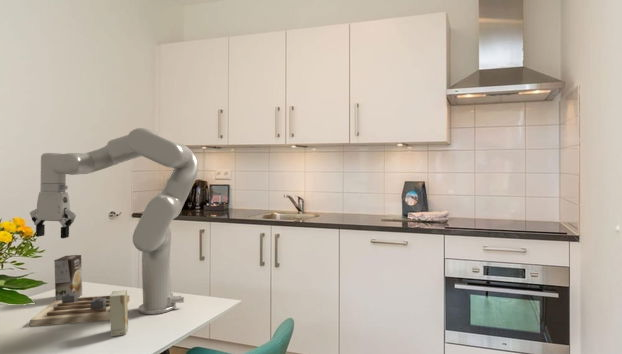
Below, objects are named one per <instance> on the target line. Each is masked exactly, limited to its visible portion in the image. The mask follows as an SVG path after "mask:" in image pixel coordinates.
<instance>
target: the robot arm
mask: <svg viewBox="0 0 622 354" xmlns="http://www.w3.org/2000/svg"><path fill="white" fill-rule="evenodd" d="M140 157H144V158H146V159H147V160H151V161H153V162H155V163H157V164H159V165H162V166H163V167H167V168H169V169H170V168H171V169H172V168H173V170H172V172H171V174H170V176H169V178H168V179H167V181H166V184H165V186H164V188H163V189H162V191H161V194H159V195H156V196H154V197H153V198H151V199H150V201H149V202H147V205H146V206H145V209H144V211H143V213H142V215H141V217H140V218H139V220H138V223H137V224H136V227H135V229H134V230H133V234H132V244H133V245H134V247H135V248H136V249H137V250H138V251H140V252H142V253H141V277H142V278H141V279H142V304H140V305H139V306H138V307H137V308H138V312H139V313H141V314H144V315H158V314H163V313H167V312H170V311H172V310H174V309H175V308H176V306H177V304H178V303H179V304H180V303H185V297H184V296H182V295H177V296H175V295H174V293H173V292H172V283H171V282H172V280H171V279H172V278H171V246H172V245H171V244H172V232H171V227H170V224H172V223H171V222H172V221H173V220H174V219H177V218H178V217H179V215H180V214H181V212H182V209H183V207H184V205H185V202H186V201H187V199H188V197H189V194H190V192H191V190H192V188H193V186H194V184H195V181H196V179H197V176H198V170H199V166H198V160H197V157H196V156H195V154H194V152H193V151H192V150H191V148H189V147H188V146H187V145H184V144H183V143H182V144H181V143H176V142H173V141H172V140H171V141H170V140H169V139H166V138H163V137H161V136H159V135H158V133H156V132H155V131H154V130H152V129H148V128H144V127H143V128H142V127H138V128H137V127H136V128H135V129H132V130H130V132H128V134H126V135H123V136H120V137H116V138H114V139H111V140H109V141H107V143H106V145H105V146H103V147H101V148H98V149H94V150H92V151H88V152H85V153H82V152H81V153H80V152H70V153H69V152H68V153H59V152H45V153H44V152H43V154H41V156H40V188H39V189H40V192H39V193H38V196H37V200H36V203H37V204H36V208H35V209H32V211H30V212H29V215H30V217H31V220H32V222H33V225H34V226H35V237H38V238H39V237H43V236H45V230H46V229H45V226H46V225H45V224H44V223H45V222H47V221H48V222H59V224H60V225H61V227H60V239H67V238H69V237H70V227H71V226H72V224H73V223H74V220H75V219H76V216H77V214H76V213H74V212H72V211H71V203H70V198H69V194H68V192H67V191H66V190H68V187H69V186H68V185H66V180H67V179H66V175H71V176H75V175H76V176H77V175H86V174H93V173H95V172H98V171H101V170H105V169H107V168H110V167H112V166H116V165H119V164H120V163H124V162H127V161H130V160H134V159H137V158H140ZM36 233H37V234H36Z"/></svg>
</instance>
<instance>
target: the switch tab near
mask: <svg viewBox="0 0 622 354" xmlns="http://www.w3.org/2000/svg"><path fill="white" fill-rule="evenodd" d="M90 305H91V309H96V308H105V307H106V298H101V297H98V298H97V299H93V300H92V301H91V302H90Z"/></svg>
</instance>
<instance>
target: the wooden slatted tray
mask: <svg viewBox="0 0 622 354" xmlns="http://www.w3.org/2000/svg"><path fill="white" fill-rule="evenodd" d="M98 297H101V298H106V307H105V308H96V309H91V305H90V302H91V301H92V300H93V299H97V298H98ZM129 302H130V295H127V304H129ZM99 321H101V322H102V321H110V295H99V296H98V295H97V296H83V297H78V301H77V302H72V303H62V300H58V301H56V300H54V301H52V302H51V303H49V304H48V305H47V306H46V307H45V308H44V309H41V310H40V311H39V312H38V313H37V314H35V316H33V317H32V318H30V319H29V326H30V327H35V326H37V327H38V326H49V325H50V326H51V325H62V324H74V323H75V324H76V323H77V324H78V323H87V322H88V323H89V322H99Z"/></svg>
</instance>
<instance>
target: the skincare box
mask: <svg viewBox="0 0 622 354" xmlns="http://www.w3.org/2000/svg"><path fill="white" fill-rule="evenodd" d="M109 296H110V320H109V321H110V337H116V336H125V335H126V334H127V332H128V329H129V312H128V303H127V296H128V290H127V289H126V290H125V289H123V290H115V291H114V290H113V291H111V293H110V295H109Z"/></svg>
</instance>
